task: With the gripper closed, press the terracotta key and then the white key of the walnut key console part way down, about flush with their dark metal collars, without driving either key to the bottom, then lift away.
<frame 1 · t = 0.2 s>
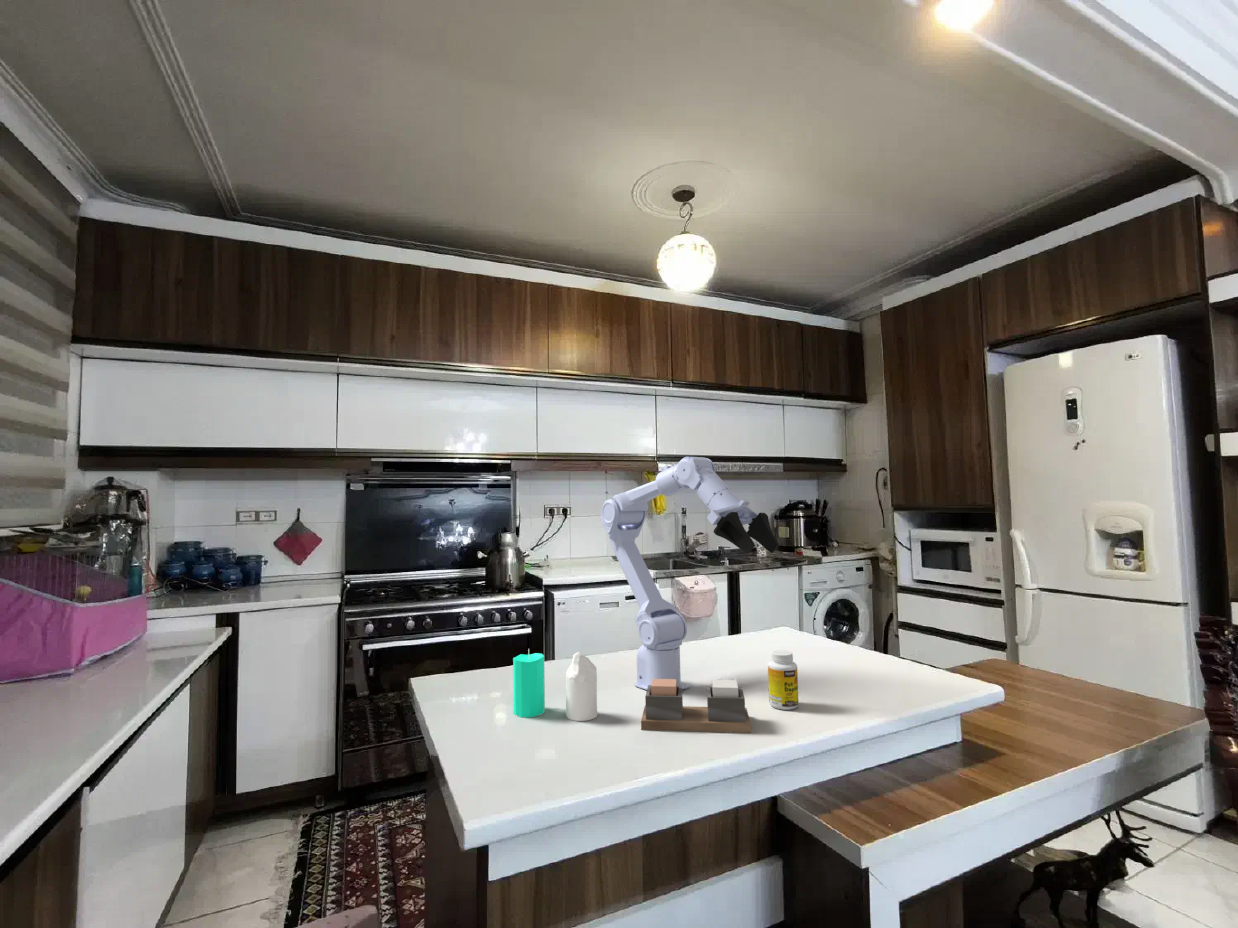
hand: (763, 549, 104), 31 cm above the counter, tool tilted 45°, fingers open, 7 cm apart
white key: (725, 690, 103), point 6 cm above the counter, slide at 0.0 cm
clay key: (664, 689, 104), point 6 cm above the counter, slide at 0.0 cm
key console: (695, 722, 103), on the counter
white bottle: (581, 717, 108), on the counter
supplement bottle: (784, 706, 111), on the counter
candle: (529, 712, 111), on the counter
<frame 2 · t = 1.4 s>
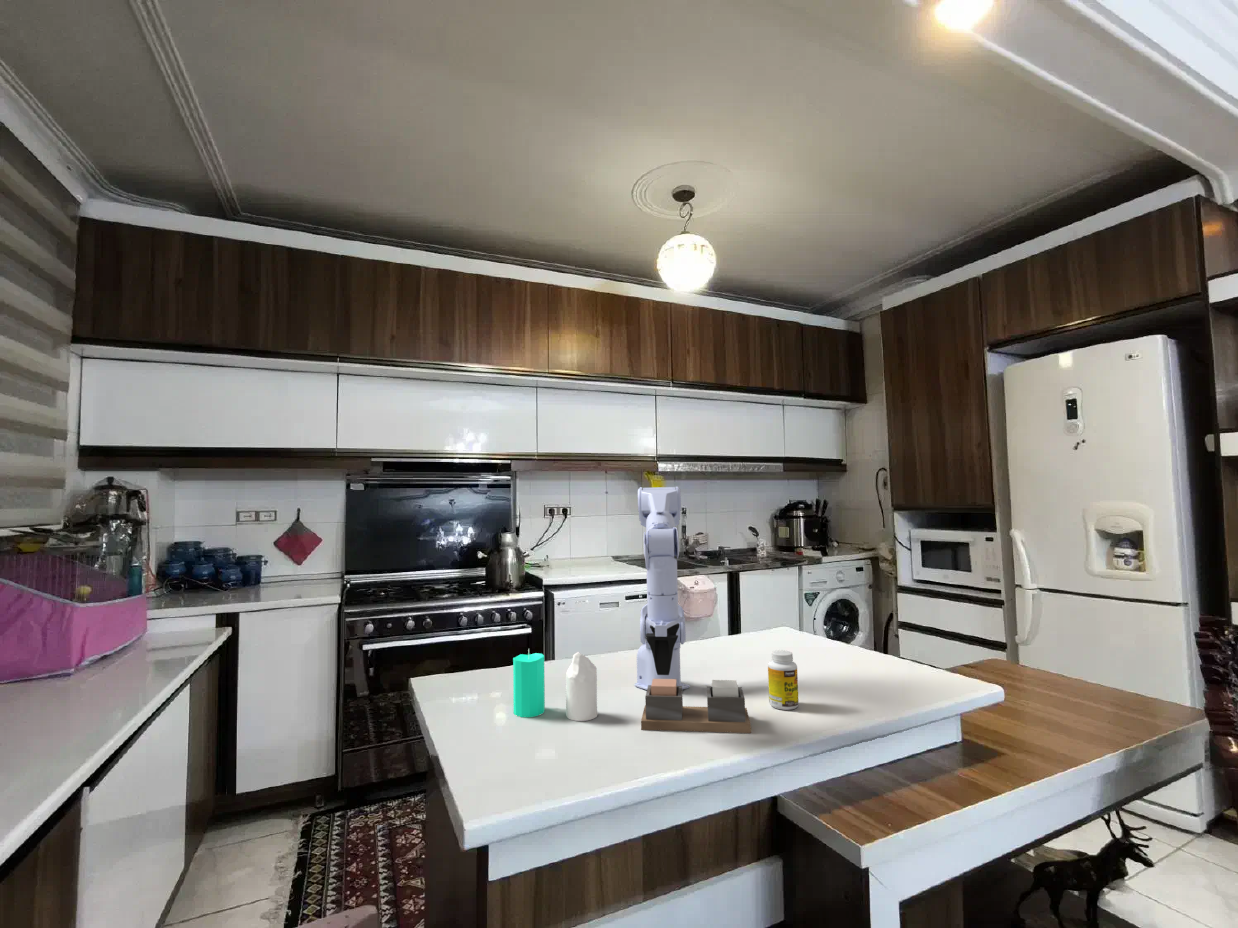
hand: (664, 668, 105), 10 cm above the counter, tool pointing down, fingers open, 7 cm apart
nothing on the counter moved.
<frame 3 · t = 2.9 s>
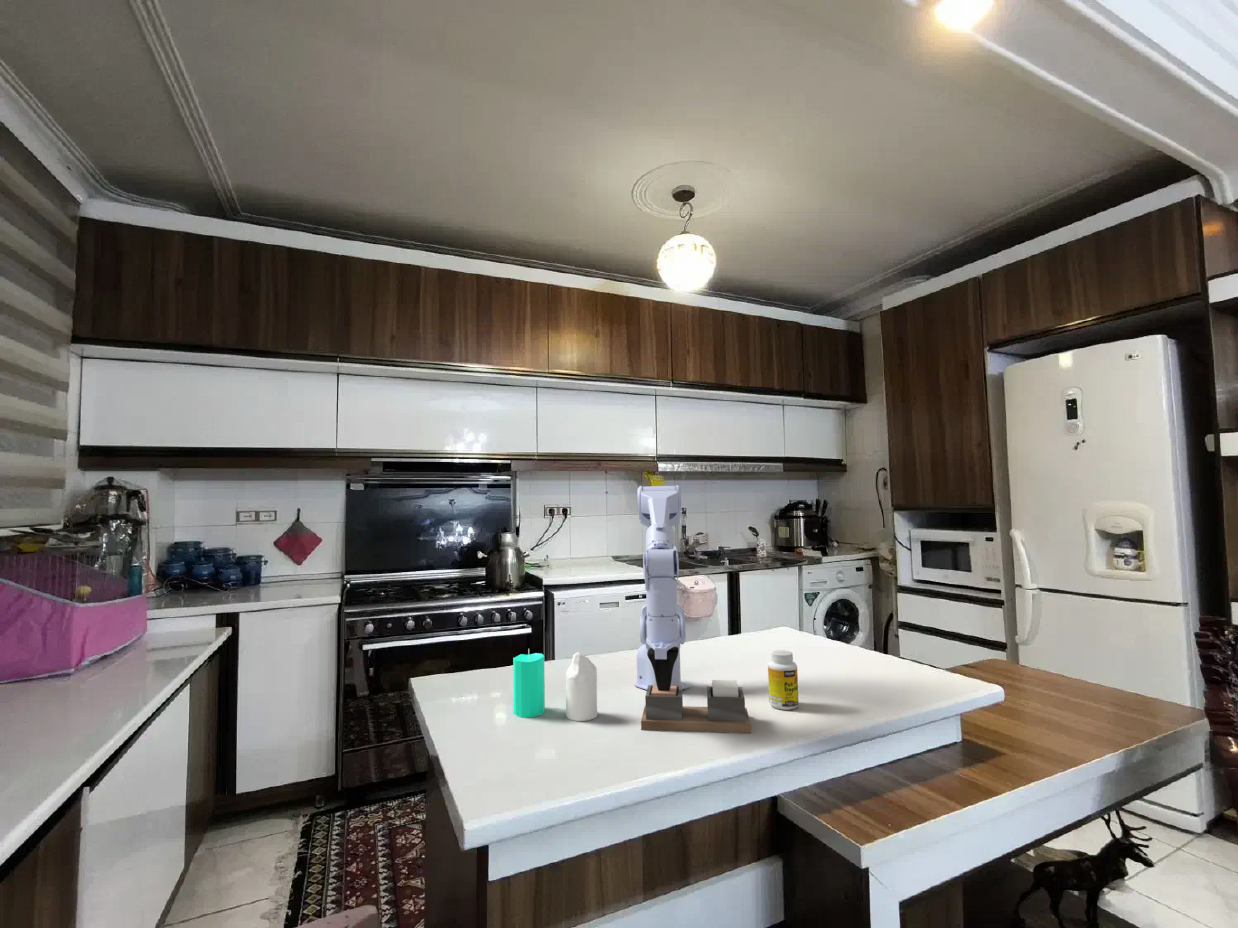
hand: (664, 689, 104), 6 cm above the counter, tool pointing down, fingers closed, pressing on clay key
clay key: (664, 696, 104), point 5 cm above the counter, slide at 1.2 cm, touching gripper
everything else where it was.
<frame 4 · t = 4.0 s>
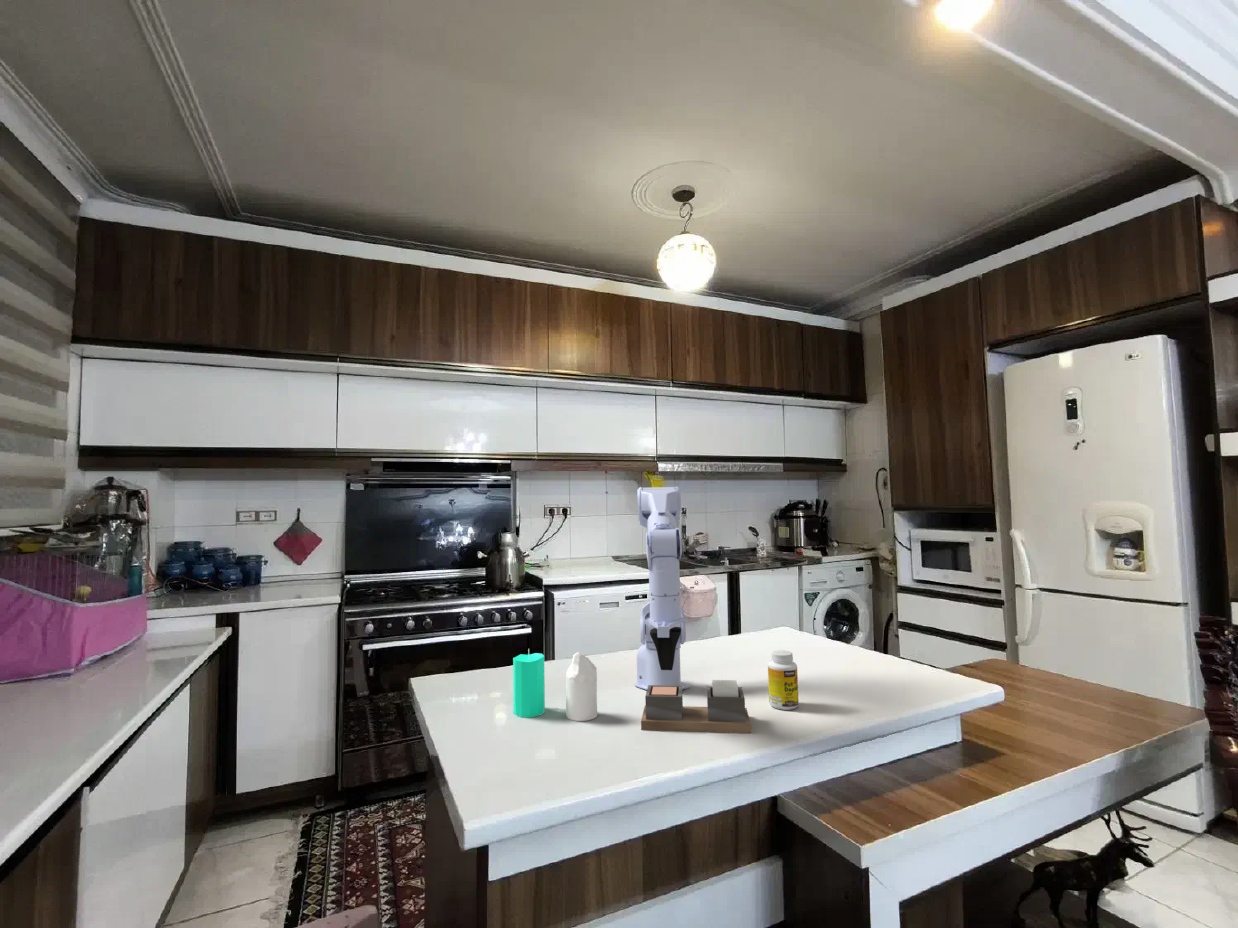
hand: (666, 669, 105), 9 cm above the counter, tool pointing down, fingers closed
clay key: (664, 697, 104), point 4 cm above the counter, slide at 1.4 cm
everything else where it was.
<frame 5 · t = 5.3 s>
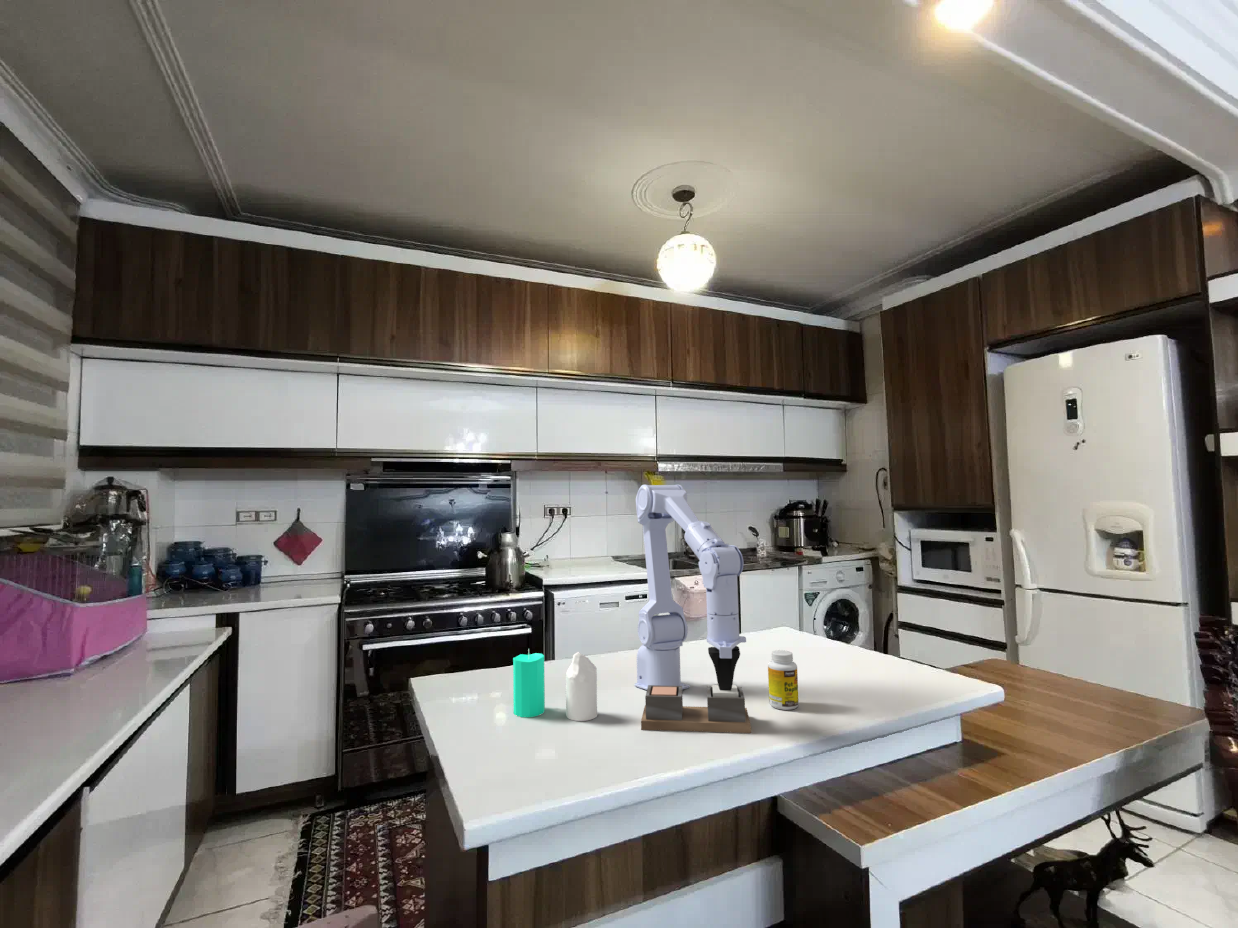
hand: (725, 689, 103), 6 cm above the counter, tool pointing down, fingers closed, pressing on white key
white key: (725, 696, 103), point 5 cm above the counter, slide at 0.9 cm, touching gripper
everything else where it was.
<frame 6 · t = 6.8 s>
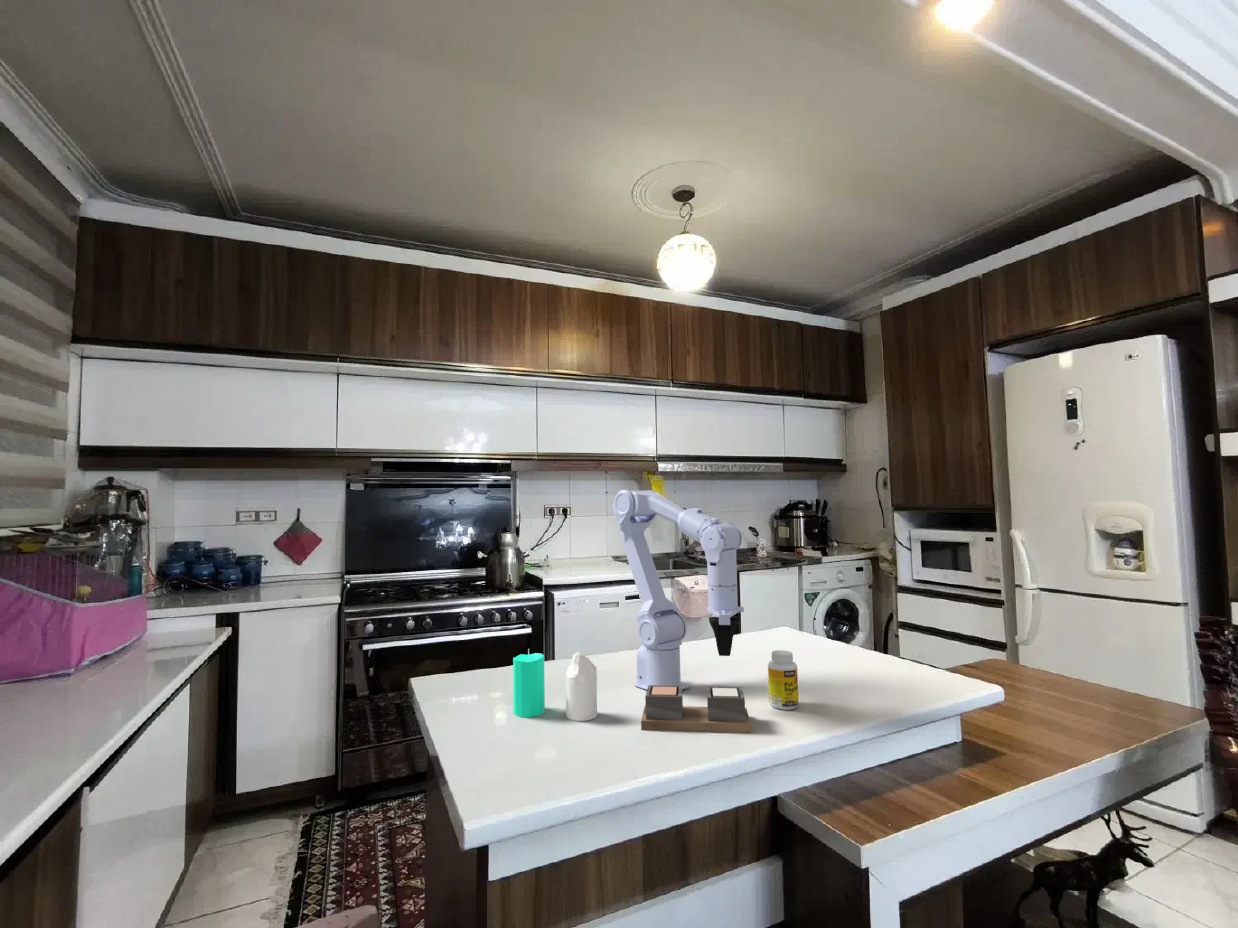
hand: (724, 654, 112), 10 cm above the counter, tool pointing down, fingers closed
white key: (725, 698, 103), point 4 cm above the counter, slide at 1.4 cm
everything else where it was.
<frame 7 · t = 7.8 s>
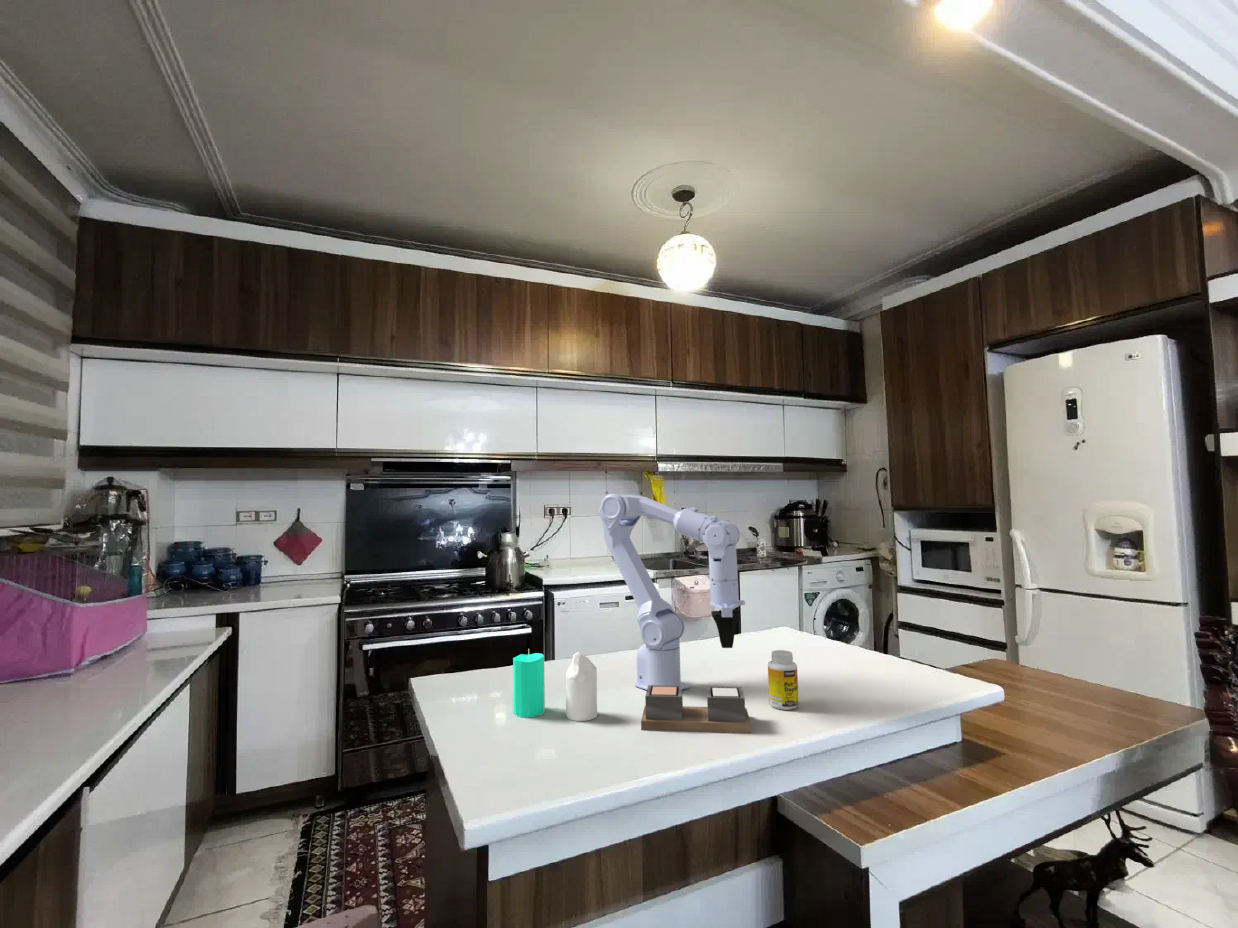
hand: (727, 647, 116), 10 cm above the counter, tool pointing down, fingers closed
nothing on the counter moved.
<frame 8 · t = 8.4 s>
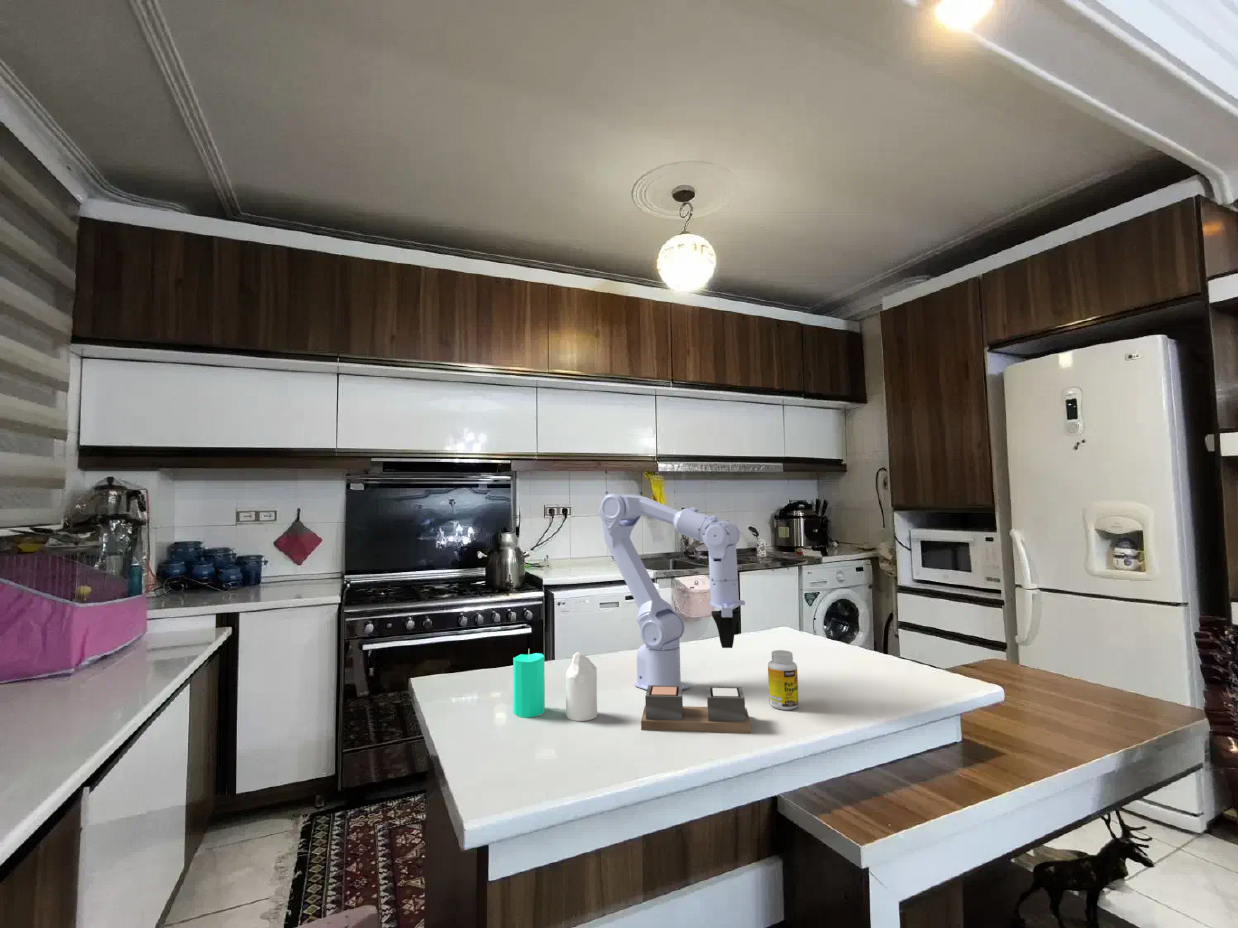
hand: (727, 647, 116), 10 cm above the counter, tool pointing down, fingers closed
nothing on the counter moved.
at the end: clay key slide at 1.4 cm; white key slide at 1.4 cm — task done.
